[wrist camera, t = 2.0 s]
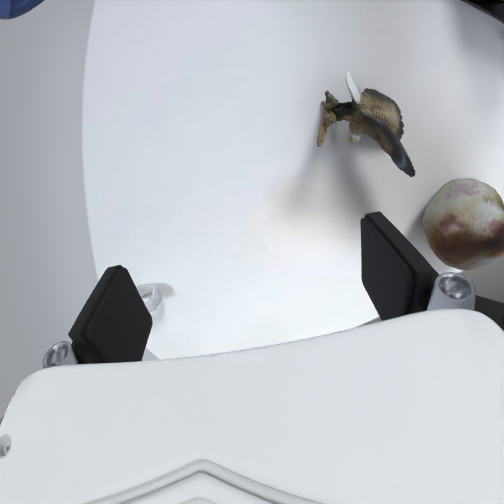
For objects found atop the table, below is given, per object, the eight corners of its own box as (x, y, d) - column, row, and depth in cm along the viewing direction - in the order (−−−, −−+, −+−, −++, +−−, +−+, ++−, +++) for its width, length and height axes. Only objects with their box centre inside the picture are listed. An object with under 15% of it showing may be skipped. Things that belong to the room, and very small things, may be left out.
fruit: (465, 154, 25) (540, 194, 14) (478, 218, 29) (538, 268, 19) (400, 196, 27) (468, 255, 17) (421, 258, 32) (473, 323, 21)
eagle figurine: (308, 164, 25) (400, 190, 24) (323, 126, 17) (440, 165, 17) (319, 96, 25) (403, 122, 25) (334, 50, 18) (435, 86, 17)
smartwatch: (160, 279, 32) (151, 302, 28) (166, 294, 33) (158, 317, 29) (132, 283, 32) (121, 305, 28) (139, 297, 33) (129, 320, 29)
